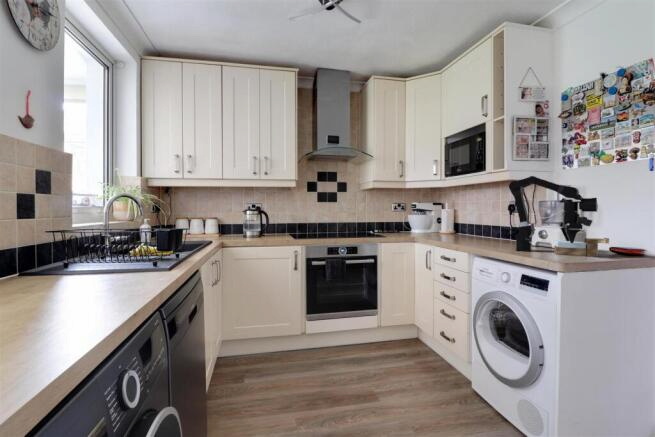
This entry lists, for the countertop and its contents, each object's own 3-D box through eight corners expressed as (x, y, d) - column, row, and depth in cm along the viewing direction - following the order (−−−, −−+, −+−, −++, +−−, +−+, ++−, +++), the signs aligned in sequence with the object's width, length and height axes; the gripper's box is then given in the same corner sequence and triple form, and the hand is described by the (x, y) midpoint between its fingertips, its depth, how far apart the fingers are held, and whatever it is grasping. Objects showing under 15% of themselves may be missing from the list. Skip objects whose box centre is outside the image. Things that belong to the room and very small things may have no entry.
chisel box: (556, 254, 159) (556, 238, 159) (554, 253, 164) (554, 237, 164) (597, 256, 152) (597, 239, 151) (593, 255, 157) (594, 238, 157)
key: (588, 242, 154) (588, 237, 154) (586, 242, 157) (587, 237, 157) (609, 243, 151) (609, 238, 150) (606, 242, 153) (606, 237, 153)
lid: (558, 247, 158) (558, 242, 158) (555, 245, 165) (555, 240, 165) (585, 248, 153) (585, 243, 153) (581, 246, 160) (581, 241, 160)
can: (589, 251, 169) (589, 229, 169) (573, 251, 171) (573, 229, 170) (580, 250, 176) (581, 228, 176) (565, 249, 178) (566, 228, 178)
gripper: (596, 211, 146) (595, 244, 147) (585, 211, 163) (584, 241, 163) (567, 211, 152) (566, 243, 152) (559, 211, 168) (558, 240, 169)
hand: (569, 242), depth 159 cm, fingers open, 9 cm apart
